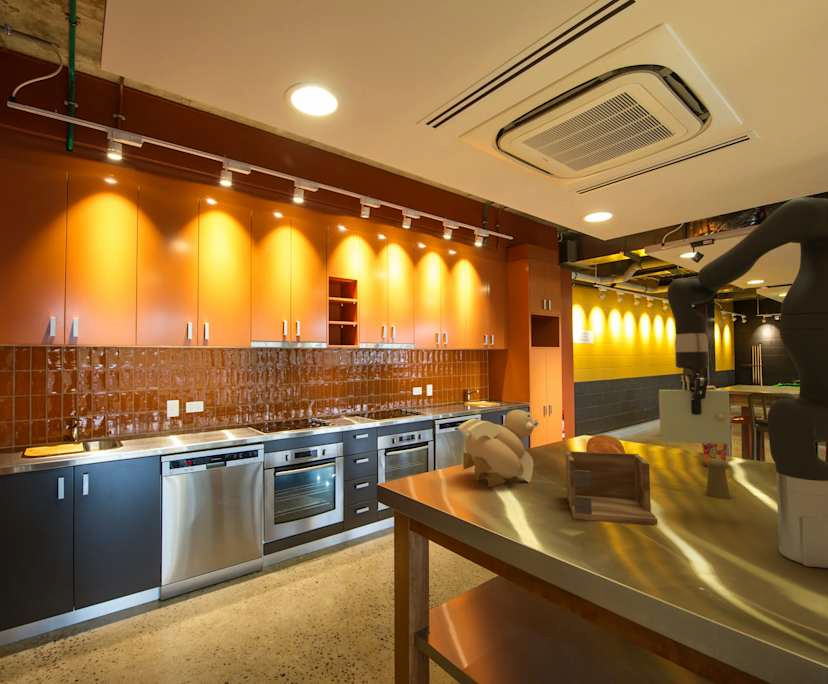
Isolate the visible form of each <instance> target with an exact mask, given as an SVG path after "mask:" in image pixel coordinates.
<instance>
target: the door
mask: <svg viewBox="0 0 828 684" xmlns="http://www.w3.org/2000/svg"><path fill="white" fill-rule="evenodd" d="M697 394H698V392H697ZM691 401H693V400H691V397H690V392H689V391H688V390H681V389H658V405H659V408H658V409H659V410H658V411H659V428H660V432H659V433H660V434H659V435H660V441H661V442H664V443H686V444H689V443H691V444H702V443H715V444H726V445H732V431H731V429H732V428H731V407H730V390H724V389H706V395H705V399H702V401H701V411H702V413H701V415H694V414H692V413H691Z"/></svg>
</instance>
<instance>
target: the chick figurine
mask: <svg viewBox="0 0 828 684" xmlns="http://www.w3.org/2000/svg"><path fill="white" fill-rule="evenodd" d="M531 413H532V412H530V411H527V412H526V411H524V410H522V409H514V410H511V411H509V412H508V413H507V414H506V416H505V417H504V421H503V425H504V426H503V425H501V424H496V423H493V422H492V421H487V420H481V419H478V418H472V419H471V418H470V419H469V420H466V421H464V422H463V423H461V424H460V425H459V426H457V429H458V431H460V432H461V434H462V435H463V436H465V437H466V438H465V442H464V446H465V451H466V452H464V451H463V454H462V455H463V458H462V459H463V464H462V465H463V467H462V468H463V470H468V469H469V468H472V467H474V476H476V482H478V481H481V480H485V479H487V478H488V479H487V480H488V488H492V487H494V486H497V485H499V484H502V483H506V482H507V481H506V479H510V478H514V477H517V478H520V479H522V480H523V481H524V482H528V483H530V482H531V480H532V477H533V470H534V459H533V457H532V455H530V452H528V451H527V450H526V449H525V446H524V444H523V442H522V440H521V439H525V438H528V437H529V436H531V435H532V433H533V431H534V428H538V426H539V420H538V419H533V418H532V414H531Z"/></svg>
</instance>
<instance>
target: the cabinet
mask: <svg viewBox="0 0 828 684" xmlns="http://www.w3.org/2000/svg"><path fill="white" fill-rule="evenodd" d="M564 453H565V454H564V455H565V456H564V457H565V491H566V493H565V497H566V500H567V504H568V507H569V510H570V512H571V516H572V518H573V519H575V520H584V521H585V520H586V521H599V522H613V523H623V524H625V523H626V524H627V523H628V524H636V525H637V523H638V525H649V524H658V518H657V516H655V515H654V513H653V512H652V506H651V479H650V478H651V477H650V476H651V475H650V473H651V472H650V463H649V462H648V461H646V460H645V459H644V458H643V457H642V456H640V455H639V454H638V453H627V452H626V453H601V452H586V451H574V450H573V451H572V450H571V451H570V450H565V451H564Z"/></svg>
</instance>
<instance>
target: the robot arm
mask: <svg viewBox="0 0 828 684" xmlns="http://www.w3.org/2000/svg"><path fill="white" fill-rule="evenodd" d="M790 243H791V244H792V243H794V244H800V246H799V247H800V248H799V249H800V258H799V260H800V263H799V269H798V272H797V275H796V276H795V279H794V281H793V282H792V284H791V286H790V287H789V288H788V291H787V292H786V294H785V296H784V298H783V299H782V300H783V301H782V303H781V306H780V311H779V313H780V315H779V316H780V318H779V319H780V320H779V321H780V322H779V335H780V339H781V343H782V345H783V347H784V348H785V350H786V352H787V354H788V355H789V357H790V359H791V360H792V362H793V364H794V366H795V367H796V370H797V373H798V379H799V393H798V394H799V395H798V398H784V399H782V398H781V399H779V400H777V401H774V402H773V403H772V404H771V406H770V407H769V409H768V412H767V419H766V420H767V421H766V422H767V434H768V440H769V441H768V442H769V453H770V455H771V458H772V461H773V463H774V464H775V478H776V479H775V480H776V499H777V500H776V501H777V502H776V503H777V507H776V508H777V525H778V526H777V529H778V543H779V544H778V545H779V547H778V548H779V549H778V550H779V553H780V554H781V555H782V556H783V557H785V558H787V559H789V560H792V561H794V562H797V563H800V564H802V565H803V566H805V567H812V568H813V567H815V568H825V569H828V461H827V460H823V459H821V458H820V457H819V456H818V454H817V451H816V450H817V449H816V443H823V442H828V198H820V197H810V196H809V197H808V196H804V197H803V196H801V197H796V198H793V199H790V200H788V201H787V202H784V204H782V205H781V206H780V207H778V208H777V209H776V210H775V211H774V212H772V213H771V214H770V215H769V216H768V217H766V218H765V219H764V220H763V221H762V222H761V223H760V224H759V225H758V226H757V227H755V228H754V229H753V230H752V231H750V233H748V234H747V235H746V236H745V237H744V238H743V239H741V240H740V241H739V242H738V243H737V244H735V245H734V246H733V247H731V248H730V249H728V250H727V251H726V252H724V253H723V254H721V255H720V256H718V257H716V258H715V259H713V260H712V261H710V262H708V263H707V264H706V265H704V266H703V267H702V268H701V269H700V270H699V271H698V273H697V278H685V277H684V278H682V277H681V278H680V277H679V278H676V279H673V280H672V282H670V284H669V286H668V288H667V293H666V295H667V300H668V303H669V306H670V310H671V312H672V315H673V318H674V321H675V322H674V323H675V324H674V325H675V340H674V347H675V348H674V349H675V350H674V351H675V352H674V353H675V367H676V368H678V369H683V370H682V375H681V376H678V380H679V387H680V390H688V391H689V392H690V397H691V400H693V401H691V413H692V414H694V415H701V413H702V411H701V401H702V399H705V395H706V390H708V389H707V387H708V381H709V380H708V378H707V377H704V375H703V370H702V369H706V368H709V349H708V347H709V346H708V345H709V344H708V338H707V327H706V326H707V325H706V323H707V322H706V317H705V316H706V315H704V314H703V313H702V312H699V311H696V310H695V309H694V306H693V305H699V304H703V303H706V302H708V301H709V300H711V299H712V298H713V297H714V296H715V295H716V294H717V293H719V292H720V291H721V289H723V288H724V287H725V286H728V285H729V284H731V283H733V282H734V281H736V280H739V279H740V278H742V277H743V276H745V275H746V274H747V273H748V272H749V271H750V270H752V269H753V267H754V266H755V264H756V263H757V262H758V260H759V259H760V258H762V257H763V256H764V255H766V254H768V253H769V252H771V251H773V250H775V249H777V248H779V247H782V246H784V245H787V244H790ZM697 392H698V394H697Z"/></svg>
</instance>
